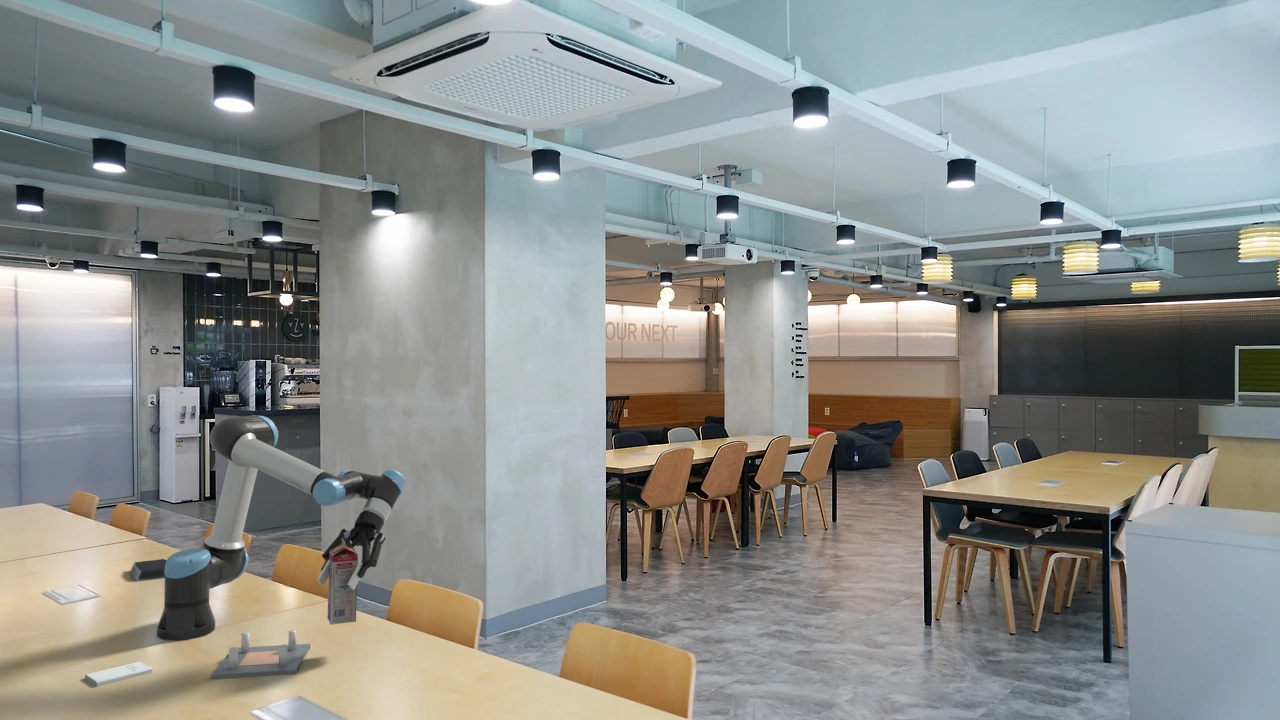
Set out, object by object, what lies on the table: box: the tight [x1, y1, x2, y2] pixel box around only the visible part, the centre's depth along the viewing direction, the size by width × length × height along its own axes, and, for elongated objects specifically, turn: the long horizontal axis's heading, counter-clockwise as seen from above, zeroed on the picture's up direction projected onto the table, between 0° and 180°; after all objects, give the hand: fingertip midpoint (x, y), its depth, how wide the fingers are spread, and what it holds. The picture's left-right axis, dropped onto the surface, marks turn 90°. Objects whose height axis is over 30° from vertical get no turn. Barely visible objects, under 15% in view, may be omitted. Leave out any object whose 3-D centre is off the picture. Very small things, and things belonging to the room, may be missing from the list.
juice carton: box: [327, 538, 359, 625], centre depth 223 cm, size 7×7×22 cm
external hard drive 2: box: [84, 661, 153, 687], centre depth 204 cm, size 2×8×12 cm
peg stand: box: [210, 629, 311, 679], centre depth 215 cm, size 20×20×6 cm
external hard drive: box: [130, 558, 167, 582], centre depth 304 cm, size 13×19×4 cm
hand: (335, 584), depth 220 cm, fingers closed on juice carton, 9 cm apart
